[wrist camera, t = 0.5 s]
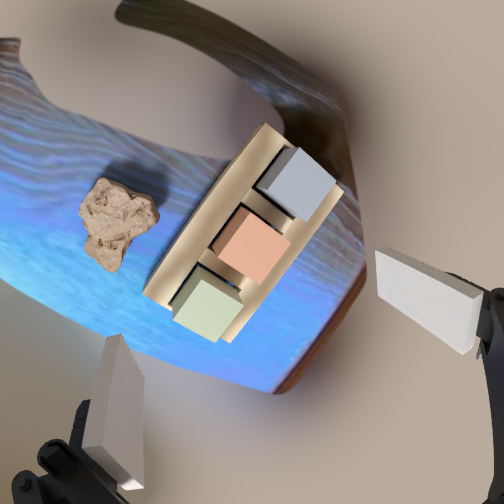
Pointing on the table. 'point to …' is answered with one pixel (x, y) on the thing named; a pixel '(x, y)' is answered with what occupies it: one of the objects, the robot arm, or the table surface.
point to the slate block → (296, 183)
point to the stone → (115, 220)
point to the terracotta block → (250, 245)
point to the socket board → (216, 214)
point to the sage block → (206, 304)
